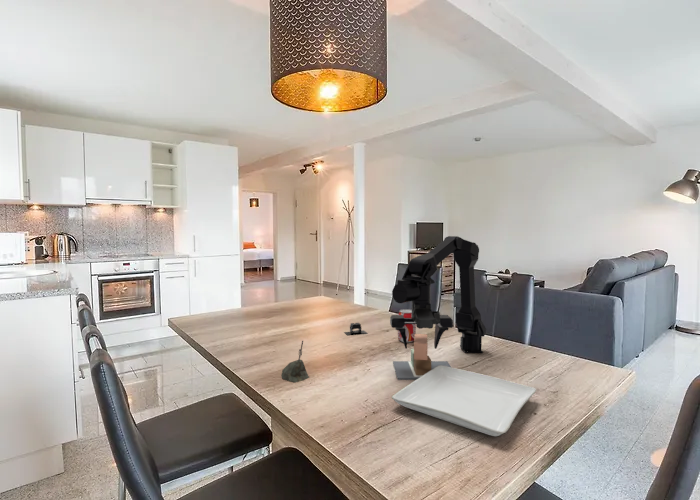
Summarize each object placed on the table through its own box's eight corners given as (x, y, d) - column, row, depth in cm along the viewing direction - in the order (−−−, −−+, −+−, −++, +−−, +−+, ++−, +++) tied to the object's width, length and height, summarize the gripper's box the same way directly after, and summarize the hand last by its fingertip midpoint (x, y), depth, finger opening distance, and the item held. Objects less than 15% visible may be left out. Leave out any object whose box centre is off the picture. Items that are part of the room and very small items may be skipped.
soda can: (410, 344, 146) (410, 313, 146) (394, 341, 151) (394, 311, 150) (418, 340, 152) (418, 310, 151) (403, 337, 156) (403, 308, 156)
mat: (447, 363, 126) (447, 361, 126) (458, 379, 112) (458, 377, 112) (392, 362, 127) (392, 361, 126) (397, 379, 113) (397, 377, 112)
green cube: (424, 362, 125) (424, 348, 125) (427, 367, 121) (427, 353, 120) (410, 362, 125) (410, 348, 125) (412, 367, 121) (412, 353, 120)
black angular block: (366, 331, 168) (366, 320, 168) (372, 335, 161) (372, 324, 161) (339, 333, 164) (339, 322, 164) (344, 338, 157) (344, 326, 157)
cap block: (427, 349, 124) (427, 334, 124) (427, 360, 114) (427, 343, 114) (414, 349, 125) (414, 333, 124) (413, 359, 115) (413, 343, 115)
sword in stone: (275, 374, 118) (276, 335, 117) (298, 369, 122) (299, 332, 122) (290, 385, 110) (291, 343, 109) (313, 379, 114) (314, 340, 114)
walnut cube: (428, 369, 119) (428, 355, 118) (431, 375, 114) (431, 360, 114) (413, 369, 119) (413, 355, 118) (416, 375, 114) (416, 360, 114)
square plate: (439, 375, 115) (439, 363, 115) (537, 401, 98) (537, 386, 98) (389, 409, 94) (389, 394, 94) (503, 449, 77) (504, 431, 77)
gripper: (393, 304, 110) (393, 357, 111) (458, 304, 110) (457, 357, 111) (390, 297, 122) (389, 345, 122) (448, 297, 121) (448, 345, 122)
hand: (420, 348), depth 119 cm, fingers open, 9 cm apart
